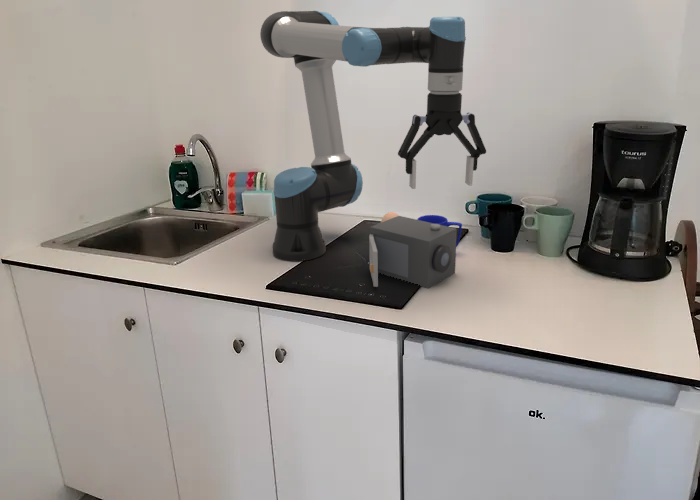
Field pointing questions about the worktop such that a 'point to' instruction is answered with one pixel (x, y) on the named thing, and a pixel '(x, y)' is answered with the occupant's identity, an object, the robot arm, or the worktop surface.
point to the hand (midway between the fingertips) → (440, 185)
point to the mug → (441, 222)
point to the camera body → (415, 250)
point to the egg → (389, 216)
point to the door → (373, 260)
